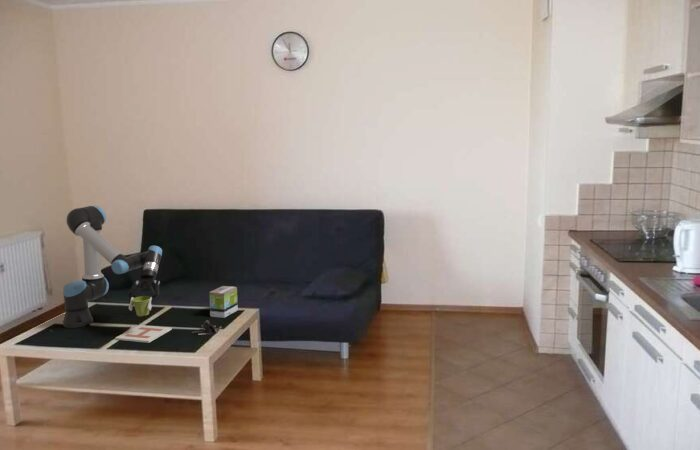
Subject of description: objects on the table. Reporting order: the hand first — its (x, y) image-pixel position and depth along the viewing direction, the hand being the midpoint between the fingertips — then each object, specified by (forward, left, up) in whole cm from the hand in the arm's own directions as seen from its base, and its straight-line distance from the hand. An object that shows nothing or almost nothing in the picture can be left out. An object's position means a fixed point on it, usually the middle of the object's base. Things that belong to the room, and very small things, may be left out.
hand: (139, 309), depth 293 cm
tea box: (+24, +44, -15) cm, 53 cm away
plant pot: (-1, +3, -4) cm, 5 cm away
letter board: (-1, +3, -15) cm, 15 cm away
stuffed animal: (+30, +15, -15) cm, 37 cm away
